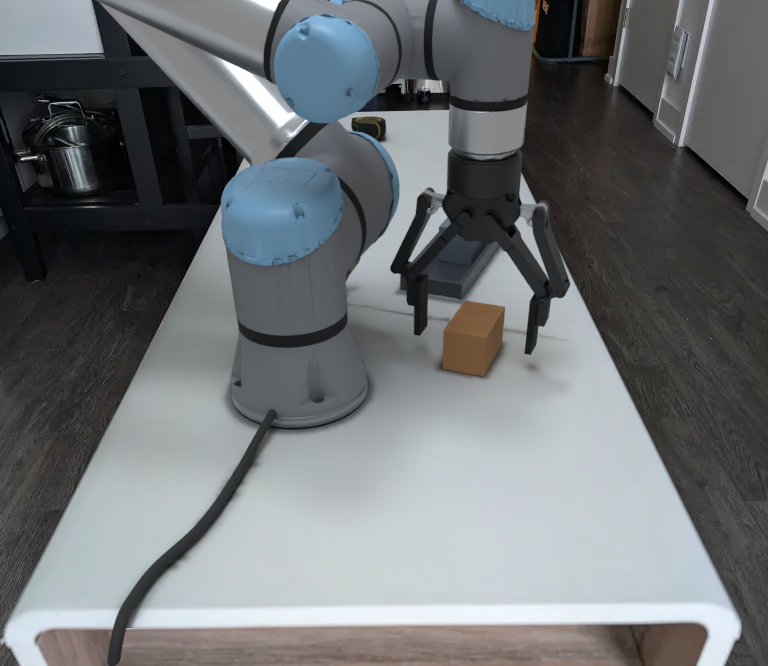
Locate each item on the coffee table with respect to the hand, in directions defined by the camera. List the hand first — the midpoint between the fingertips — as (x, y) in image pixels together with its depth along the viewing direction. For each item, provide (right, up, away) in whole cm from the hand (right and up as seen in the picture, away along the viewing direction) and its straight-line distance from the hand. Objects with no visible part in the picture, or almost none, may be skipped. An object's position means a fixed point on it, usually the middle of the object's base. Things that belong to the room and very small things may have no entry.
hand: (474, 339), depth 94 cm
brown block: (0, -2, +2) cm, 2 cm away
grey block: (+1, +18, +23) cm, 29 cm away
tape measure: (-14, +56, +69) cm, 90 cm away
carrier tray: (-1, +15, +21) cm, 25 cm away
